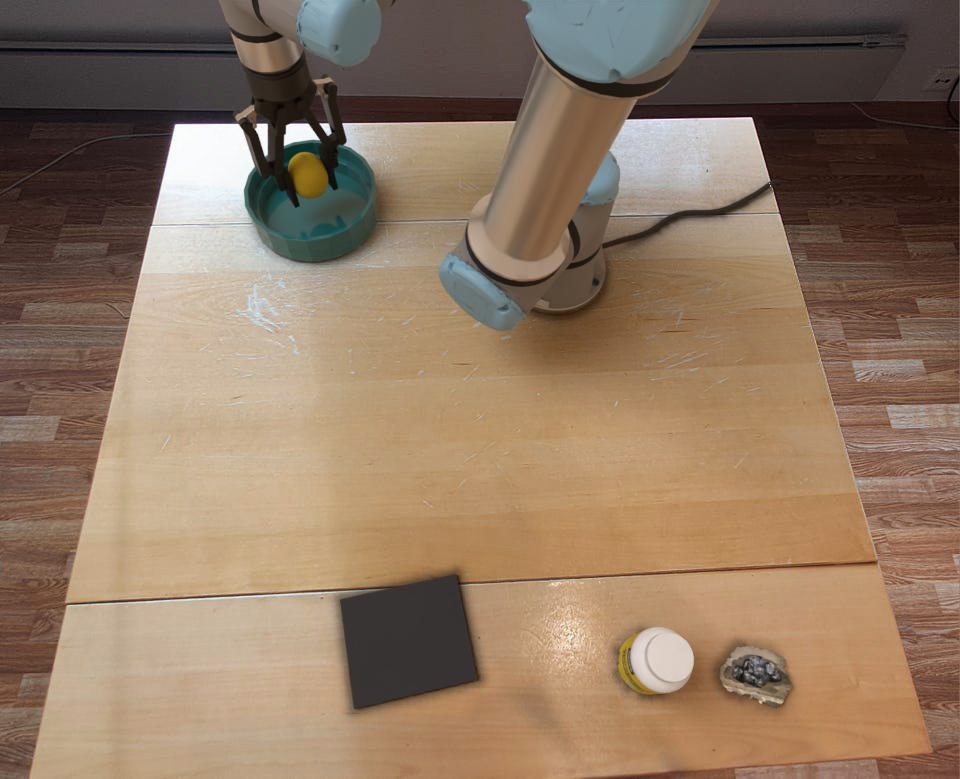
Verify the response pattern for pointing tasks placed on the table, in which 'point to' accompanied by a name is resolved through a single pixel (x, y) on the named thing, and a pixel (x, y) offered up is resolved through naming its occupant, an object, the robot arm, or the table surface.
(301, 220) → the bowl
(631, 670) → the pill bottle
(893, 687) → the table surface
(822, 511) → the table surface
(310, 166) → the lemon
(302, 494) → the table surface
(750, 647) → the mineral rock
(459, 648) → the mat
